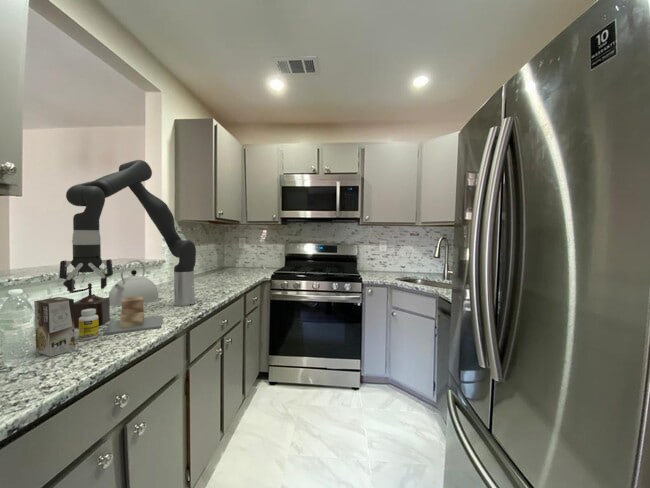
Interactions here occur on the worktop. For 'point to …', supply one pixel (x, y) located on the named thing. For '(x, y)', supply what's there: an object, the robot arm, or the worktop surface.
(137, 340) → the worktop surface
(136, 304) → the tower top
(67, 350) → the coffee box
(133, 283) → the kettle
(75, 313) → the hand-crank coffee grinder
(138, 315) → the tower base
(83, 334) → the supplement bottle
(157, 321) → the slate board
